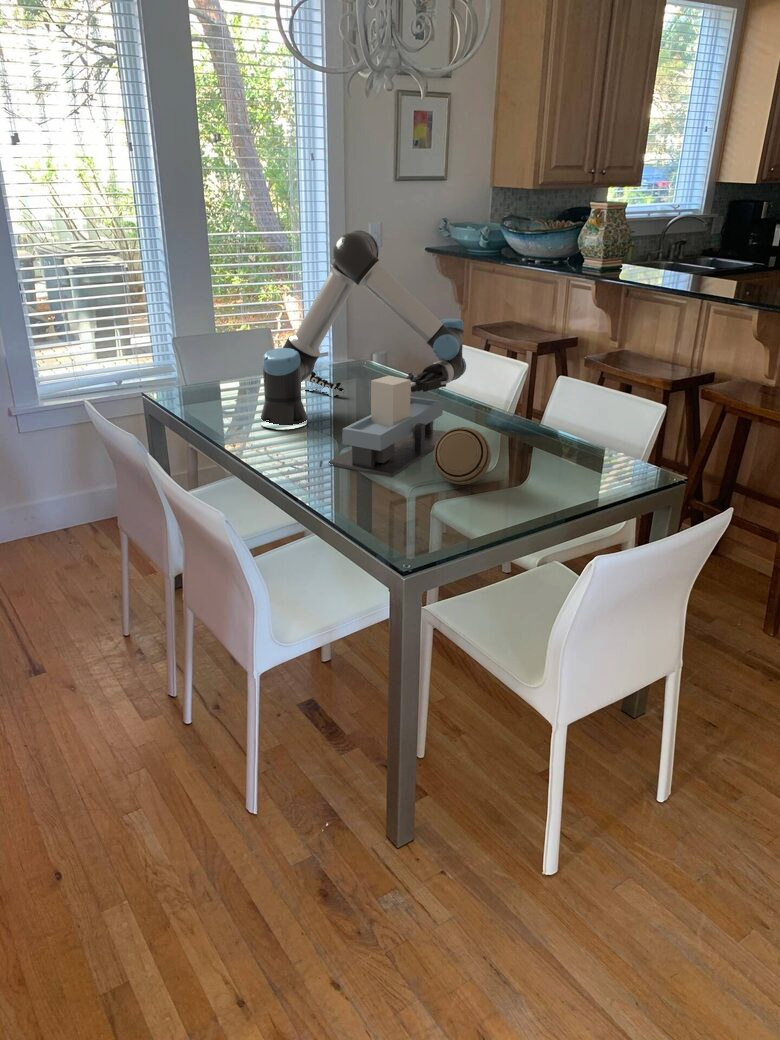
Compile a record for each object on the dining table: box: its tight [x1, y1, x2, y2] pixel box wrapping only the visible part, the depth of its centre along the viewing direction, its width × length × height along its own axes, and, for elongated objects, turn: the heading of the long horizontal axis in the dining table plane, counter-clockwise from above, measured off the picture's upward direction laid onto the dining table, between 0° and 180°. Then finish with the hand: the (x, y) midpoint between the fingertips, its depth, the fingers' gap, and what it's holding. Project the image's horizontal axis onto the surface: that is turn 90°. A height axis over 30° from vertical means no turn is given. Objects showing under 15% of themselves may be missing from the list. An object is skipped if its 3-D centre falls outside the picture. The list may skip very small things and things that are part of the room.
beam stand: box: [328, 420, 447, 478], centre depth 232 cm, size 42×20×9 cm, turn 152°
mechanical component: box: [432, 426, 492, 486], centre depth 206 cm, size 15×15×15 cm
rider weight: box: [370, 375, 412, 427], centre depth 225 cm, size 8×8×12 cm
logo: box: [304, 370, 345, 391], centre depth 291 cm, size 21×2×10 cm, turn 52°
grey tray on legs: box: [341, 396, 444, 463], centre depth 231 cm, size 40×13×9 cm, turn 152°
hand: (403, 391), depth 226 cm, fingers closed
